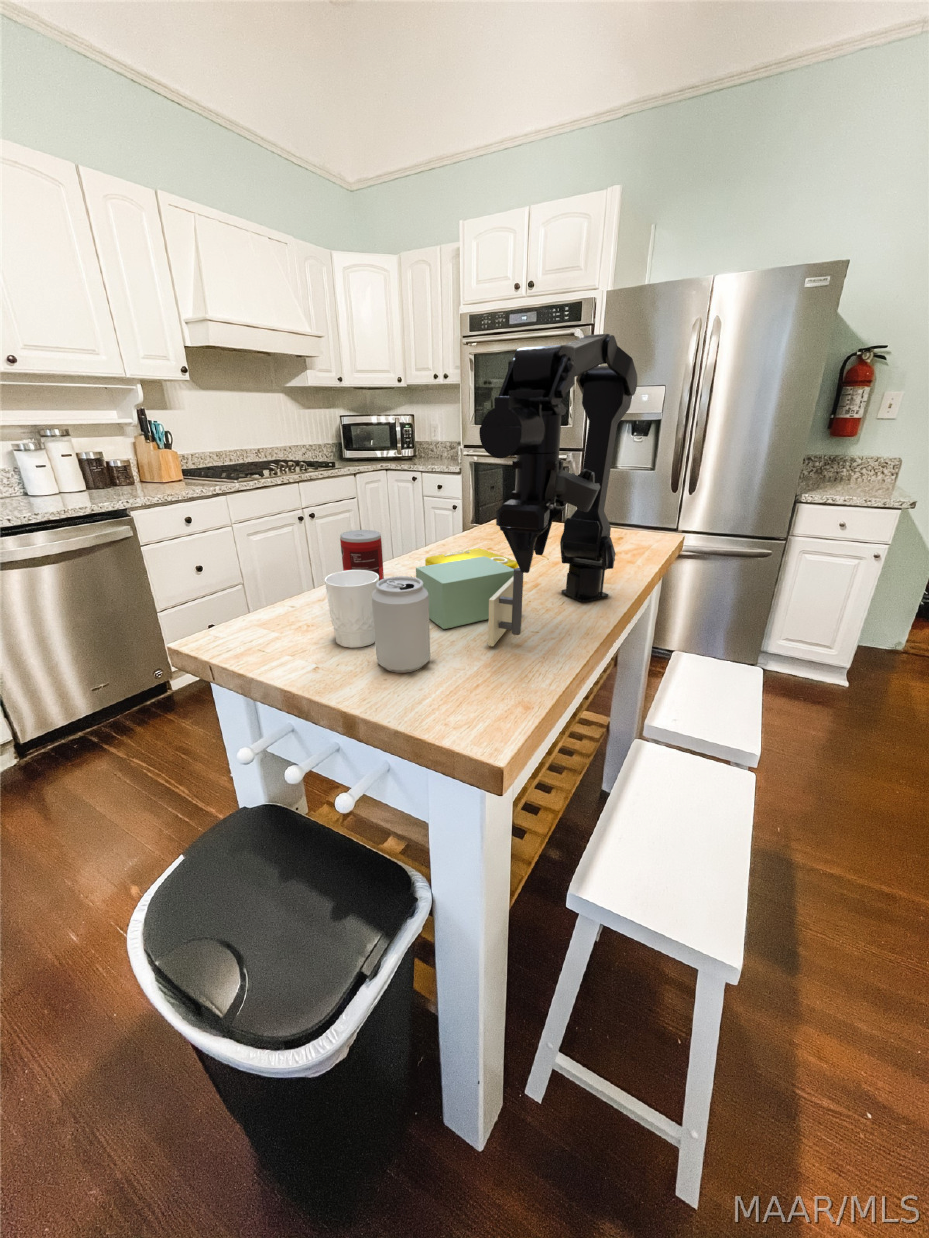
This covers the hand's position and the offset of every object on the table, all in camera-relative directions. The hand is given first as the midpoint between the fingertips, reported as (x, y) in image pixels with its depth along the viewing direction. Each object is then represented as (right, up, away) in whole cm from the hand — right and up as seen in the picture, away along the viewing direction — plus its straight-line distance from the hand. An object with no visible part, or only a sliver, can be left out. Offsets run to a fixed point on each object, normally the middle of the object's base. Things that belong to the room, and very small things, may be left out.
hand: (532, 563), depth 73 cm
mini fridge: (-10, -7, +14) cm, 19 cm away
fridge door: (-2, -10, +6) cm, 12 cm away
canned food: (-30, -2, +26) cm, 40 cm away
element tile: (-9, 0, +31) cm, 32 cm away
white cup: (-27, -11, +4) cm, 29 cm away
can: (-19, -15, -3) cm, 24 cm away
